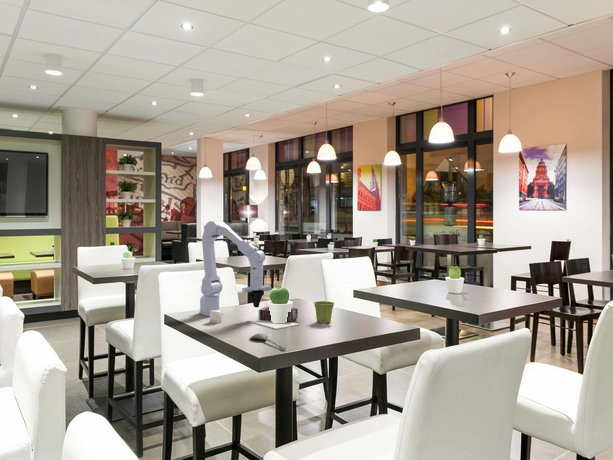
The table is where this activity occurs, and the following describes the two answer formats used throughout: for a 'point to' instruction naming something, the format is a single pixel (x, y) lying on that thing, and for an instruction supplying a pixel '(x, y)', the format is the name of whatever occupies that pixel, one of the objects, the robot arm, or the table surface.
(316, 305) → the plant pot
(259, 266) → the robot arm
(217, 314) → the white small cube
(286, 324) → the mat
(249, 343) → the table surface
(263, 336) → the soupspoon
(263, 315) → the supplement box
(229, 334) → the table surface
